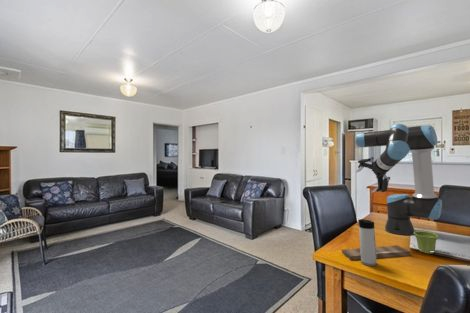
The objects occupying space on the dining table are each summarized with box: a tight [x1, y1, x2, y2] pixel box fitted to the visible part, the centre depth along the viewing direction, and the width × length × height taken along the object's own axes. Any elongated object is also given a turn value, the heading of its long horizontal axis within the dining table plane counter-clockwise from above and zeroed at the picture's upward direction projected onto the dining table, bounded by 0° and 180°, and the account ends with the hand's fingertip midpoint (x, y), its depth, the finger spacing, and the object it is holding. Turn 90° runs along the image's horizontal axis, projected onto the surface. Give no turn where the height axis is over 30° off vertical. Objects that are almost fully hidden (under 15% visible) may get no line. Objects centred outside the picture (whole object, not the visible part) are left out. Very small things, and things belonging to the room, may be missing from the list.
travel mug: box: [358, 218, 378, 267], centre depth 107 cm, size 6×7×20 cm
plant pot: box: [413, 230, 439, 254], centre depth 116 cm, size 9×9×9 cm
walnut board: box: [341, 245, 412, 261], centre depth 115 cm, size 30×8×2 cm, turn 94°
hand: (365, 181), depth 132 cm, fingers open, 13 cm apart
